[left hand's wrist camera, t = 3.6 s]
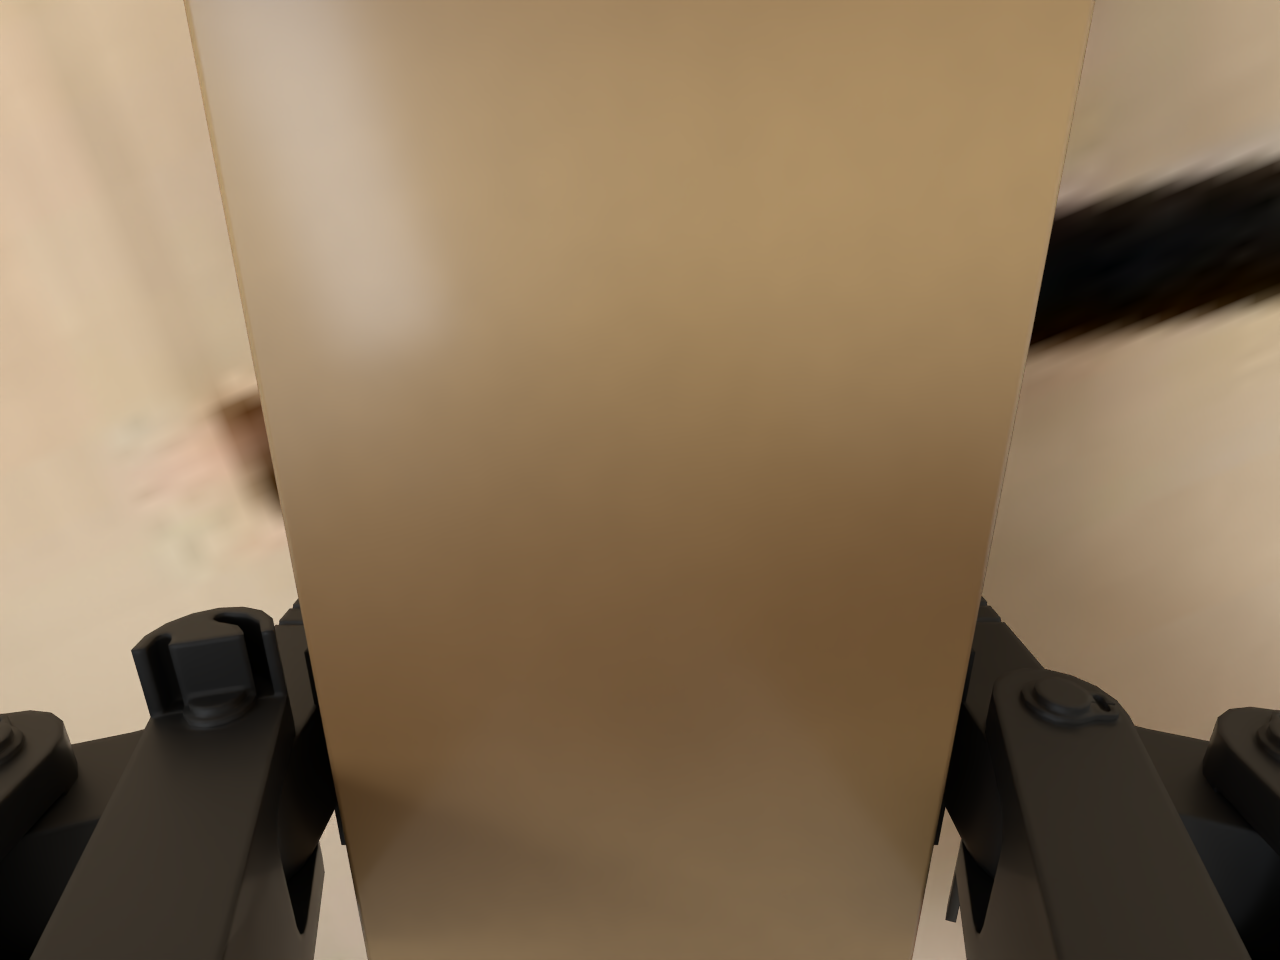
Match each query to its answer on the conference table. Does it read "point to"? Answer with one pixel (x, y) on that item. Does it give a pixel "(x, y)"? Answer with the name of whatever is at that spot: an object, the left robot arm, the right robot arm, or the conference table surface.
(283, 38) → the post
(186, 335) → the conference table surface
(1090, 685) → the left robot arm
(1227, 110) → the conference table surface
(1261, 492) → the conference table surface
